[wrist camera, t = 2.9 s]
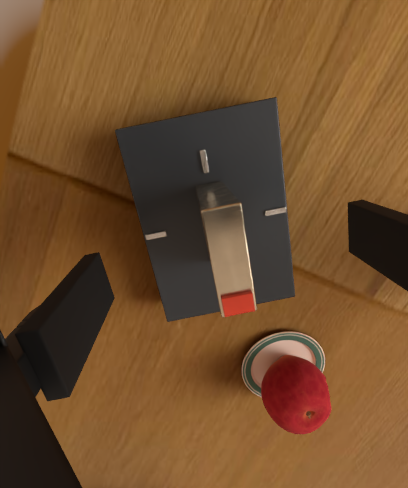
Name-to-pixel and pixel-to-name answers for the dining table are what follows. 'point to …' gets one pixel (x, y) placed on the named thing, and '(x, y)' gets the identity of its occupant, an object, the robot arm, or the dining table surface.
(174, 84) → the dining table surface
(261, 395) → the apple
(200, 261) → the dial panel
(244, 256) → the pointer knob
